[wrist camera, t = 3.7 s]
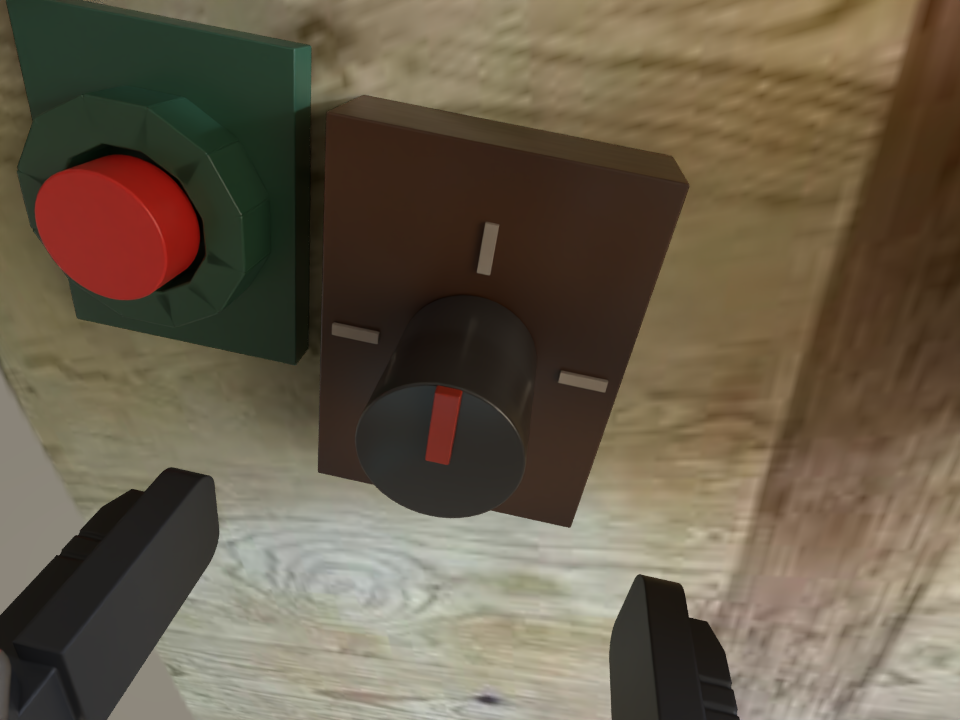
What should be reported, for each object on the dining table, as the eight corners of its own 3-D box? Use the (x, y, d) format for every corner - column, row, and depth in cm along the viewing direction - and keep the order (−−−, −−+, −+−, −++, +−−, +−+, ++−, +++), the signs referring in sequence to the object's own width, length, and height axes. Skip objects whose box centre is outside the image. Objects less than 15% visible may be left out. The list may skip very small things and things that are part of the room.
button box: (308, 349, 22) (273, 395, 19) (99, 304, 22) (37, 344, 20) (311, 45, 17) (264, 54, 14) (36, -9, 17) (-58, -10, 14)
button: (206, 287, 18) (173, 313, 17) (92, 263, 18) (49, 286, 17) (195, 168, 16) (157, 184, 15) (68, 141, 16) (18, 156, 15)
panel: (571, 470, 23) (570, 532, 21) (345, 421, 24) (315, 475, 21) (673, 156, 17) (691, 186, 14) (362, 94, 17) (322, 112, 15)
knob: (521, 424, 19) (506, 543, 15) (396, 396, 19) (346, 507, 15) (551, 310, 17) (541, 413, 12) (408, 281, 17) (354, 373, 13)
